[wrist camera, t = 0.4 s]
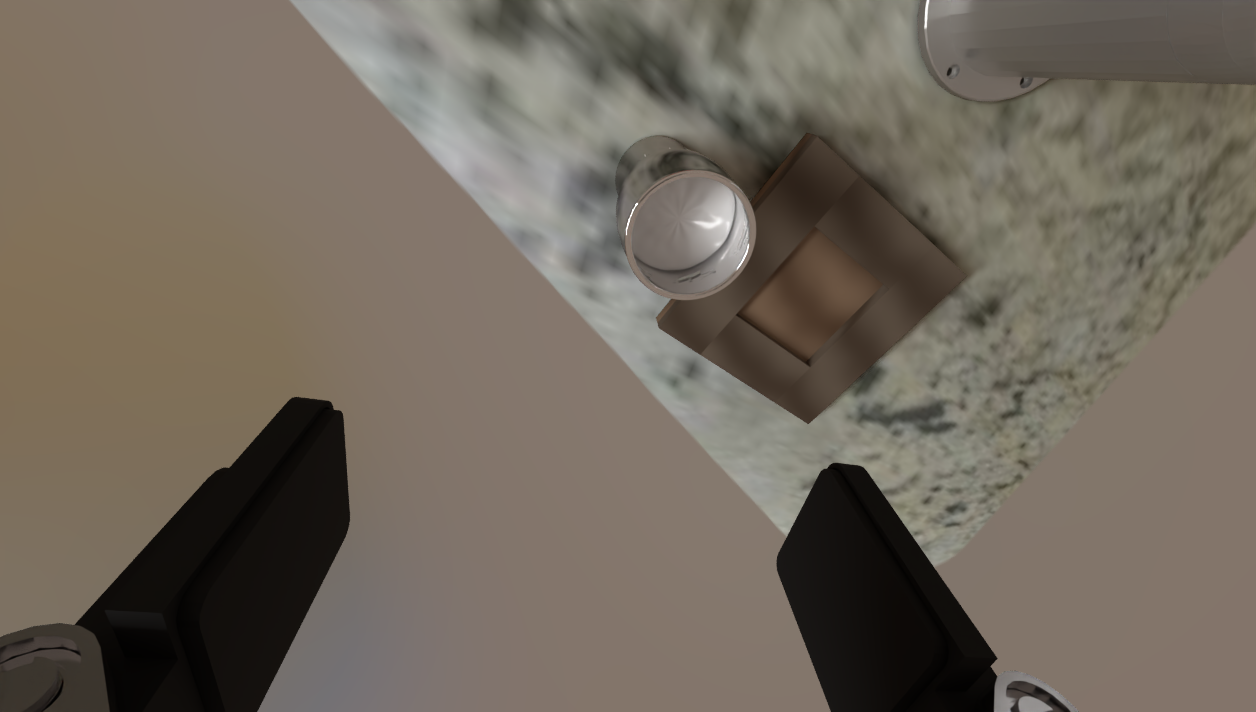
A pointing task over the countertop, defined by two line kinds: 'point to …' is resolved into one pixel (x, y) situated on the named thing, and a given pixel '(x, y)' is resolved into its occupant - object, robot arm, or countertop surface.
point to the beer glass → (681, 219)
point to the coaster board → (816, 286)
